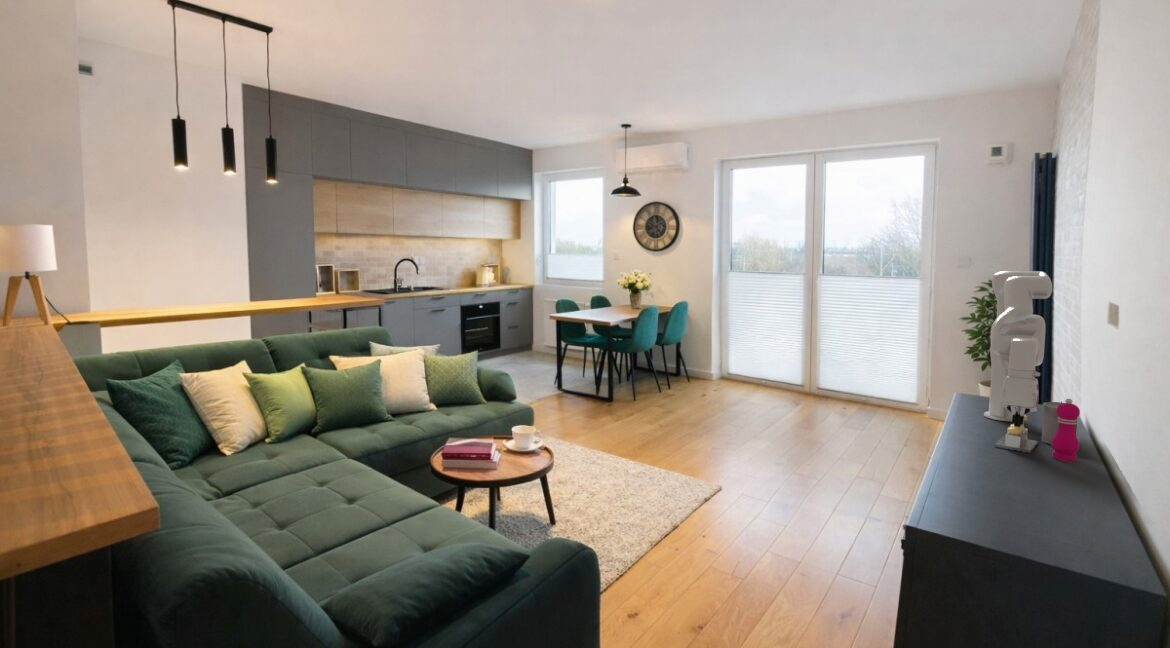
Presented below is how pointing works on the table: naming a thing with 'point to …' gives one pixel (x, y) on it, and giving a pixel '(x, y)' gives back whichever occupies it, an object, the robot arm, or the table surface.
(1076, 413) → the pepper mill
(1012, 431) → the knob
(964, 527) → the table surface
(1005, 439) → the mount plate
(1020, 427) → the knob
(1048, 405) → the pillar candle
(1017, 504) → the table surface
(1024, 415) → the knob
